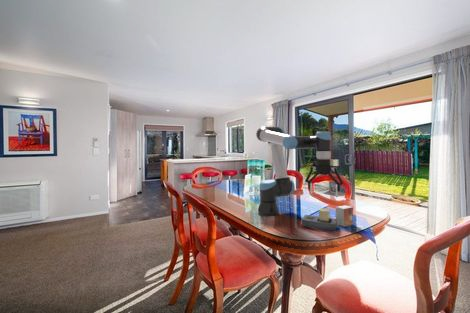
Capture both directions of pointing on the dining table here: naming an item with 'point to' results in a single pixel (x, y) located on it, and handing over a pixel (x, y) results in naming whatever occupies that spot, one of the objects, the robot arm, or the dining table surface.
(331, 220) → the grey square hole block
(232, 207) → the dining table surface
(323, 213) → the beige square peg
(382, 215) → the dining table surface
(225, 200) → the dining table surface
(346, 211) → the small box
